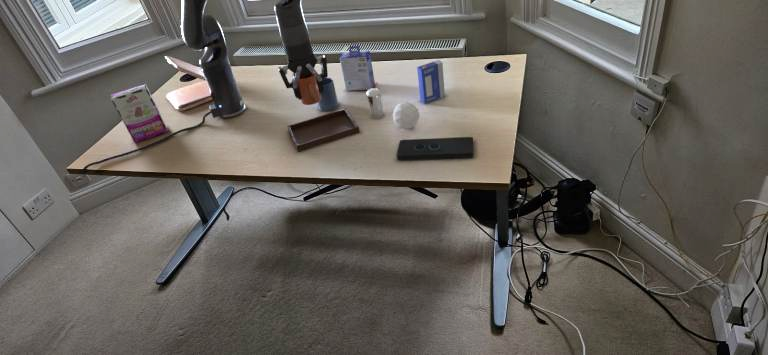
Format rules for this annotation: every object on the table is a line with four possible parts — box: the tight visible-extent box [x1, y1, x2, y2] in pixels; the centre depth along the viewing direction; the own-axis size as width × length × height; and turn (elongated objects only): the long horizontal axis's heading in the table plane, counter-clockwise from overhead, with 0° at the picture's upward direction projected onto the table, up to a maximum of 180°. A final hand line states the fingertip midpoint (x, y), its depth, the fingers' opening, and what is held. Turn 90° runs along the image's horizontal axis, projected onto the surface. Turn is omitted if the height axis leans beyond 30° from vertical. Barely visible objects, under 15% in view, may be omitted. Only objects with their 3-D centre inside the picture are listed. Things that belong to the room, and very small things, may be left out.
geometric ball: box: [392, 101, 420, 130], centre depth 137 cm, size 8×8×8 cm
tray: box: [287, 108, 361, 153], centre depth 143 cm, size 19×14×2 cm
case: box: [164, 55, 213, 112], centre depth 178 cm, size 20×21×16 cm
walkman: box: [416, 59, 446, 105], centre depth 148 cm, size 8×3×12 cm, turn 116°
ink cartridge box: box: [339, 45, 376, 92], centre depth 163 cm, size 10×6×14 cm, turn 78°
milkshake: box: [365, 81, 384, 119], centre depth 145 cm, size 5×5×10 cm
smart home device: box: [396, 136, 474, 161], centre depth 126 cm, size 8×2×20 cm
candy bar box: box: [110, 83, 169, 144], centre depth 155 cm, size 11×5×16 cm, turn 117°
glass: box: [317, 77, 339, 112], centre depth 155 cm, size 6×6×9 cm
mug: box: [297, 73, 322, 106], centre depth 135 cm, size 8×6×8 cm
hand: (310, 95), depth 137 cm, fingers closed on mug, 6 cm apart
